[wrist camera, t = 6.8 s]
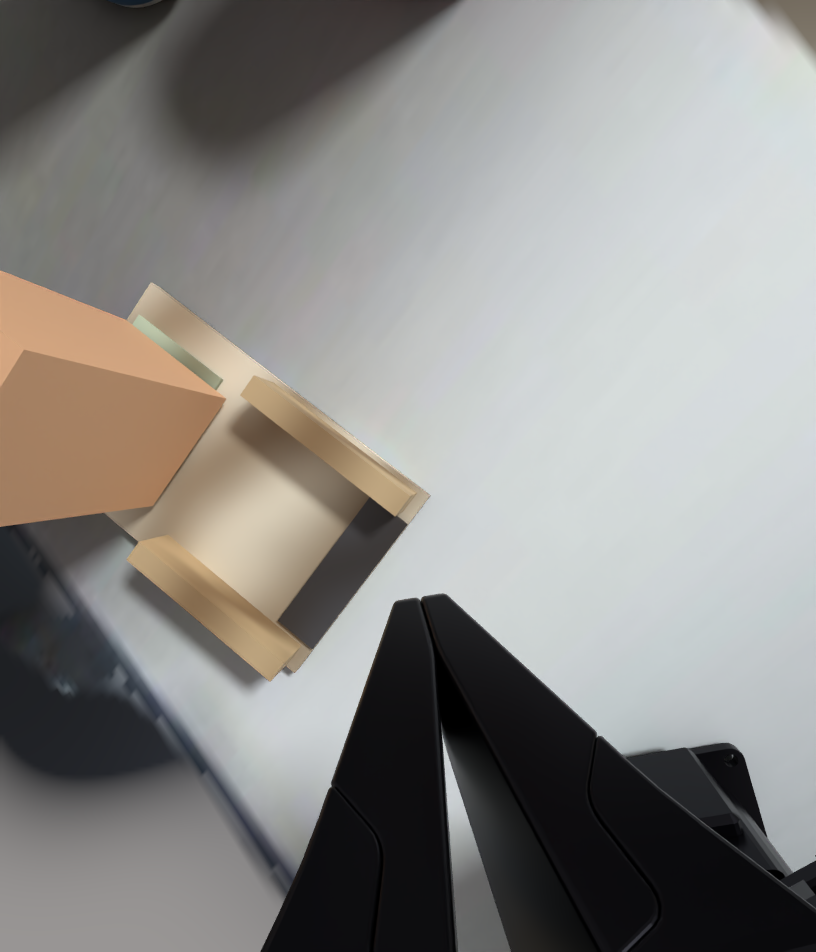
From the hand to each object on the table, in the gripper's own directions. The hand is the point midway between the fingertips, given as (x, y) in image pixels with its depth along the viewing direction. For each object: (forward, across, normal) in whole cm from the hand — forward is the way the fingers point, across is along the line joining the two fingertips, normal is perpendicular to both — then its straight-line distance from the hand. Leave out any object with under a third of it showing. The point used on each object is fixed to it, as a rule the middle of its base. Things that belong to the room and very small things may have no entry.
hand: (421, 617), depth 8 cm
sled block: (+18, +10, +1) cm, 21 cm away
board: (+16, +7, +4) cm, 18 cm away
